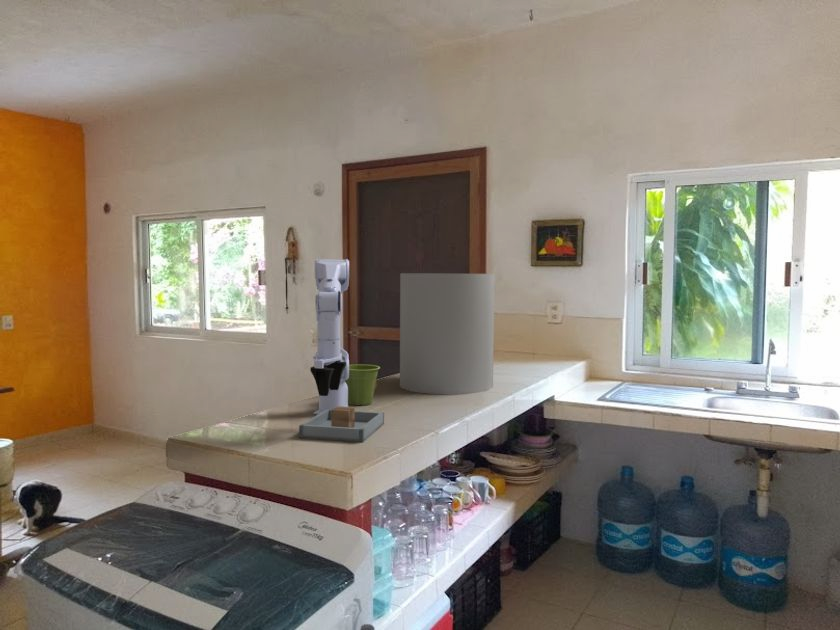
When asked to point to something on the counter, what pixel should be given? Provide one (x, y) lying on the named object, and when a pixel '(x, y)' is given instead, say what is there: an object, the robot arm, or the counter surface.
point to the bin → (323, 430)
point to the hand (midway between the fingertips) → (328, 392)
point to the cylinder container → (446, 332)
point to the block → (343, 417)
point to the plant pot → (361, 383)
